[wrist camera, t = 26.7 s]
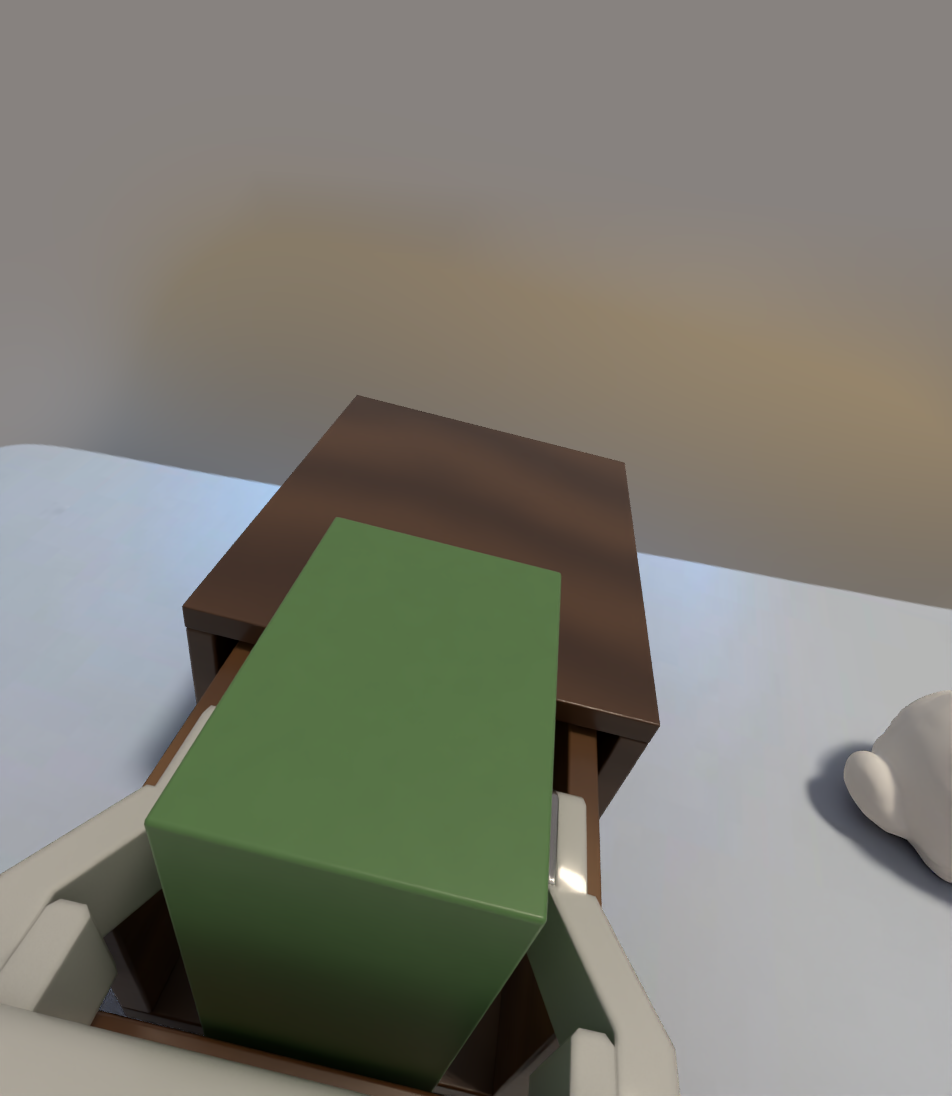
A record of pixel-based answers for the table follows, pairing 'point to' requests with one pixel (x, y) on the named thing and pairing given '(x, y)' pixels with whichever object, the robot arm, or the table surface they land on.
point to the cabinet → (467, 522)
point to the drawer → (470, 1081)
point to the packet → (370, 808)
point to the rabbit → (911, 780)
